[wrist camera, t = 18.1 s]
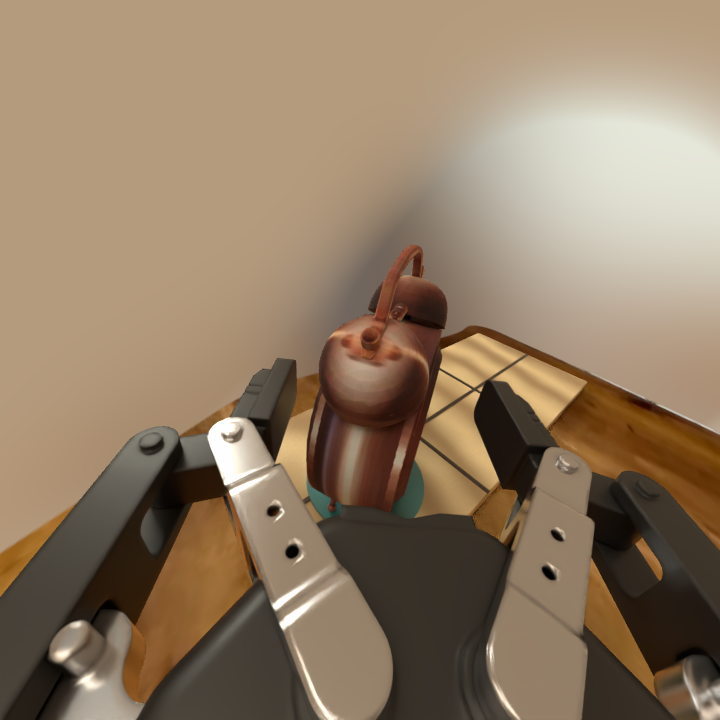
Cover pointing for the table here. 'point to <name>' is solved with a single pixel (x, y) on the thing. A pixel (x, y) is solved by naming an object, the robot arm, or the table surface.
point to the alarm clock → (377, 391)
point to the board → (450, 430)
